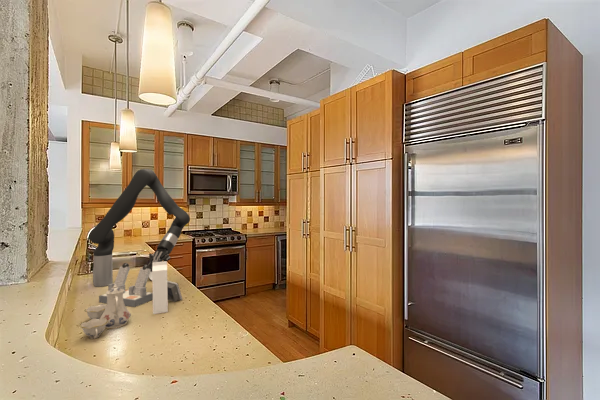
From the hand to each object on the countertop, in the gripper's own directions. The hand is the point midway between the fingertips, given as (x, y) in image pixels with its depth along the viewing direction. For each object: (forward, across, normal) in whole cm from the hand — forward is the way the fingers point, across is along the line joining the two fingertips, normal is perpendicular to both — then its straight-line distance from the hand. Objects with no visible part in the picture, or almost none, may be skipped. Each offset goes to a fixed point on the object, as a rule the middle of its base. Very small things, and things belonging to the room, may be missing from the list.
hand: (151, 270), depth 162 cm
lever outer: (+13, 0, 0) cm, 13 cm away
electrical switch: (+10, +14, +8) cm, 19 cm away
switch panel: (+15, -6, +3) cm, 17 cm away
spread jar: (-10, -22, +29) cm, 38 cm away
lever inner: (+13, -13, 0) cm, 18 cm away
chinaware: (+34, +10, -15) cm, 39 cm away
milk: (+20, +19, -1) cm, 28 cm away
